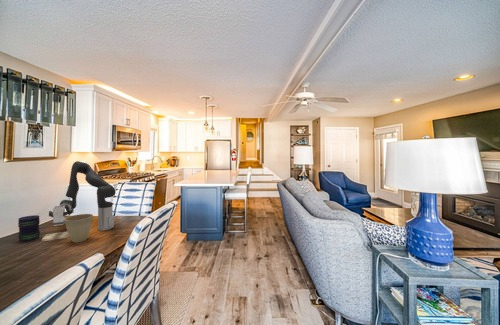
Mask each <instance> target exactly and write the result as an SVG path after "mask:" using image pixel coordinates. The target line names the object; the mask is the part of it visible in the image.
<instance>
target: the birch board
mask: <svg viewBox="0 0 500 325" xmlns="http://www.w3.org/2000/svg"><path fill="white" fill-rule="evenodd" d="M69 238H70V236H69V233H68V231H60V232H52V233H47V234H45V235H44V236H43V237H42V239H41V242H47V241H49V242H50V241H54V240H62V239H69Z"/></svg>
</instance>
